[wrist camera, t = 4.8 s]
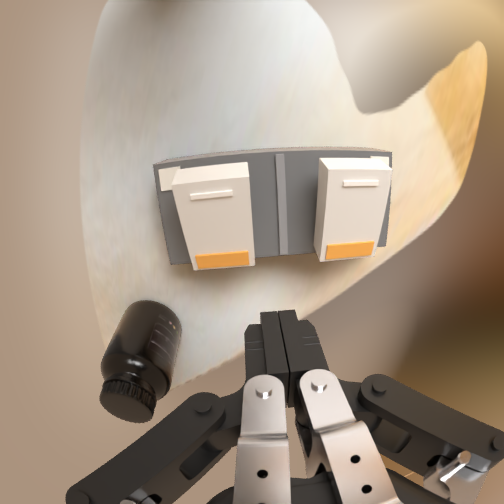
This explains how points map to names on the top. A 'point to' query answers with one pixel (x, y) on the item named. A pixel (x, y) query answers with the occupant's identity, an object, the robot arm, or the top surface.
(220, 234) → the block
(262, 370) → the robot arm
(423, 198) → the top surface
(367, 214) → the rocker
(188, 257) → the switch panel
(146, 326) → the supplement bottle
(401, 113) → the top surface
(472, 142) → the top surface
